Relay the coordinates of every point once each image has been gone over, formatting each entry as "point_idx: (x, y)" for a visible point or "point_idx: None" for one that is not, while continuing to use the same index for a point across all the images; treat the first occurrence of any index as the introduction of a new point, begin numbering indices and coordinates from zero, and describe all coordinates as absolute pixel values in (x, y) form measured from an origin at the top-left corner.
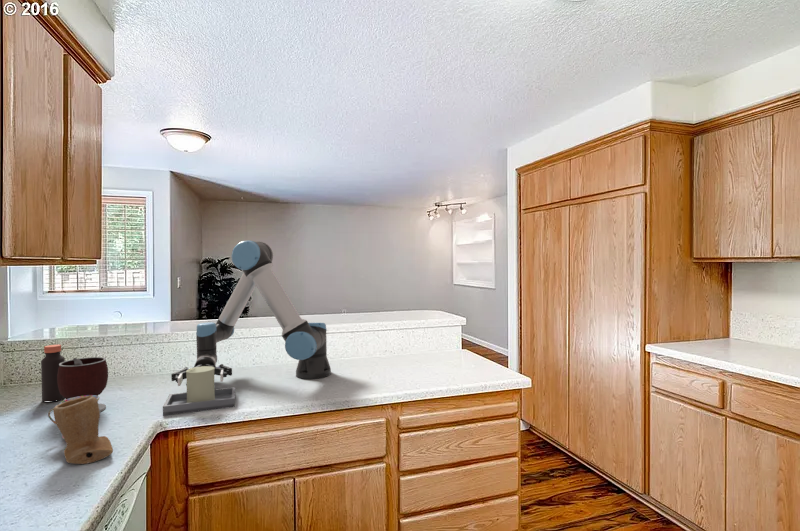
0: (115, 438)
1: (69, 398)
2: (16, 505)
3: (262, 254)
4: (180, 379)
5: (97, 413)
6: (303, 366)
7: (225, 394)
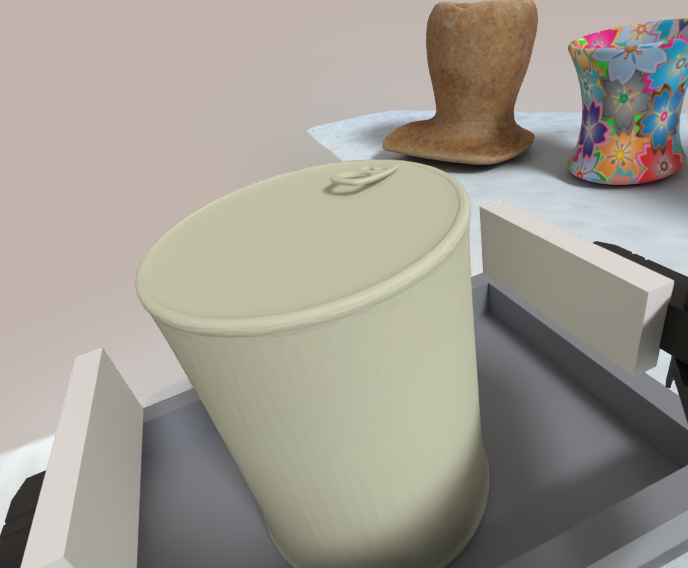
0: (482, 190)
1: None
2: (416, 113)
3: None
4: (499, 236)
5: (430, 56)
6: None
7: None
